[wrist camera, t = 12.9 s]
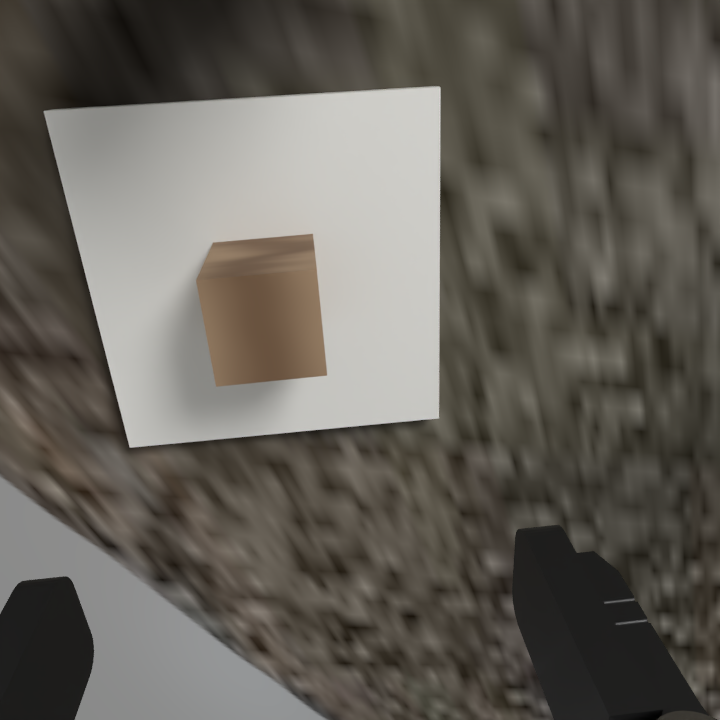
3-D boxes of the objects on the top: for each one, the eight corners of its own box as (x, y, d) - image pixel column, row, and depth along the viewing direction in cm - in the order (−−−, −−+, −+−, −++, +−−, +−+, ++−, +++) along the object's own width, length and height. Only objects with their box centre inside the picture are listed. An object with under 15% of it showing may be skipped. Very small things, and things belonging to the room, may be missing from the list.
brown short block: (312, 233, 31) (316, 269, 26) (322, 324, 33) (327, 375, 28) (213, 242, 31) (195, 280, 25) (228, 334, 33) (216, 386, 28)
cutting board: (435, 86, 30) (440, 87, 29) (434, 408, 38) (438, 418, 37) (52, 109, 29) (43, 111, 28) (134, 436, 37) (129, 447, 35)
